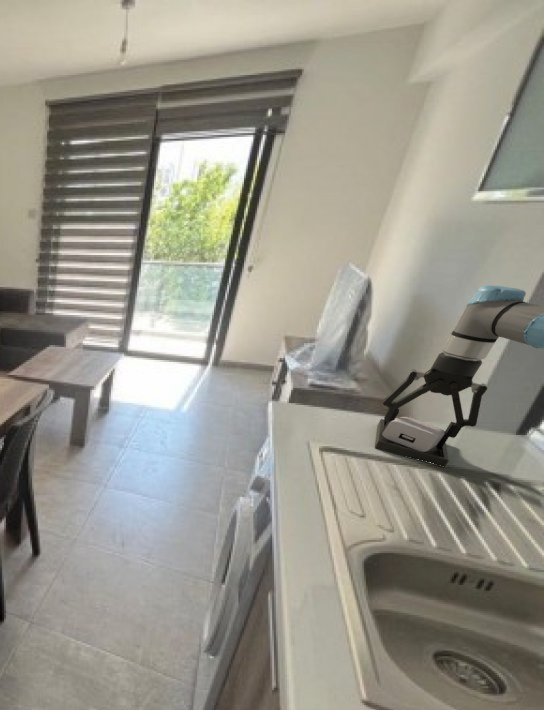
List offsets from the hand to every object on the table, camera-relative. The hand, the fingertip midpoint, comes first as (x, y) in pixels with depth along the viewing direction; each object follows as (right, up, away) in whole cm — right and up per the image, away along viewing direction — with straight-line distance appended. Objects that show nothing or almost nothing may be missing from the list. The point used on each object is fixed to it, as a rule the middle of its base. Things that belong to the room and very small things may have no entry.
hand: (410, 439), depth 122 cm
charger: (0, 0, 0) cm, 0 cm away
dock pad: (0, -1, 0) cm, 1 cm away
